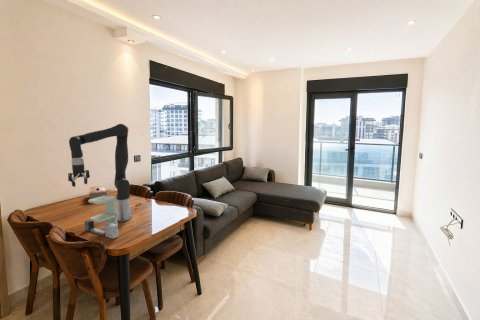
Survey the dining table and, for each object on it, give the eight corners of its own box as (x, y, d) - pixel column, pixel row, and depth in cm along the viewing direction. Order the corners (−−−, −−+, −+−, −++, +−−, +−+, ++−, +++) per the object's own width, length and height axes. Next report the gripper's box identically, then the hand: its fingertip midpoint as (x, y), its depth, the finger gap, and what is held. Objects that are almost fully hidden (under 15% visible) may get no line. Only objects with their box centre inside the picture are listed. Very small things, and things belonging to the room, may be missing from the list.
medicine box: (118, 236, 169) (118, 224, 167) (113, 239, 165) (112, 226, 163) (110, 234, 172) (109, 222, 171) (105, 237, 168) (104, 224, 167)
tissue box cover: (107, 201, 244) (106, 191, 243) (89, 203, 237) (89, 193, 236) (106, 194, 266) (105, 185, 265) (90, 196, 259) (89, 187, 258)
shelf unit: (108, 228, 182) (105, 195, 178) (118, 230, 177) (115, 196, 174) (91, 235, 170) (88, 200, 166) (101, 238, 166) (98, 202, 162)
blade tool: (90, 228, 181) (90, 219, 180) (107, 233, 173) (106, 223, 172) (85, 230, 178) (84, 221, 177) (102, 235, 170) (101, 225, 169)
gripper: (84, 161, 190) (86, 182, 193) (64, 164, 178) (66, 186, 180) (90, 162, 187) (92, 183, 190) (71, 165, 175) (73, 188, 177)
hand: (80, 185), depth 185 cm, fingers open, 8 cm apart
